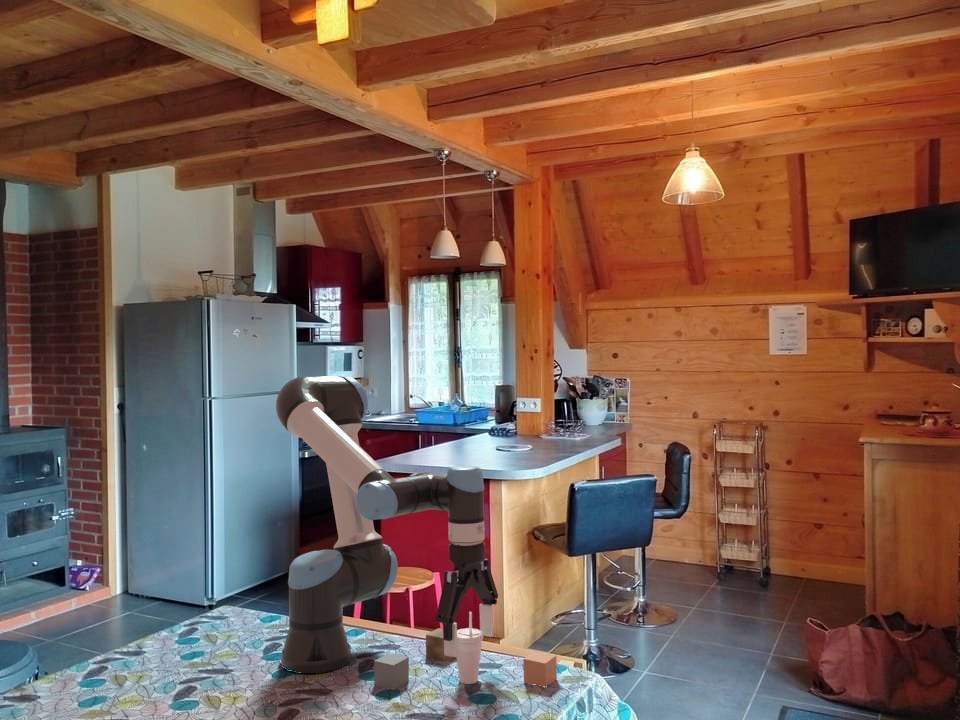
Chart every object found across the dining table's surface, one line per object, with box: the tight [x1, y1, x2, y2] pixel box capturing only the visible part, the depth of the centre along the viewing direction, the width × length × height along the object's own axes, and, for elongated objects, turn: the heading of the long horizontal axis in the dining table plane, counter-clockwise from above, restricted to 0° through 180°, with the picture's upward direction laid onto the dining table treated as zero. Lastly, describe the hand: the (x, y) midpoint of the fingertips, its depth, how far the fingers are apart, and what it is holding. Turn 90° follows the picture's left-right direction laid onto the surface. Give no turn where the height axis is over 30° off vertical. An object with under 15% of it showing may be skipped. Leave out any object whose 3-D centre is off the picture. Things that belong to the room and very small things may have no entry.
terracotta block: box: [523, 650, 558, 687], centre depth 154 cm, size 5×5×5 cm
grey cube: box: [373, 652, 410, 691], centre depth 154 cm, size 5×5×5 cm
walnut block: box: [425, 627, 452, 661], centre depth 169 cm, size 5×5×5 cm
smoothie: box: [456, 611, 484, 685], centre depth 155 cm, size 6×6×14 cm
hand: (469, 645), depth 154 cm, fingers open, 13 cm apart
